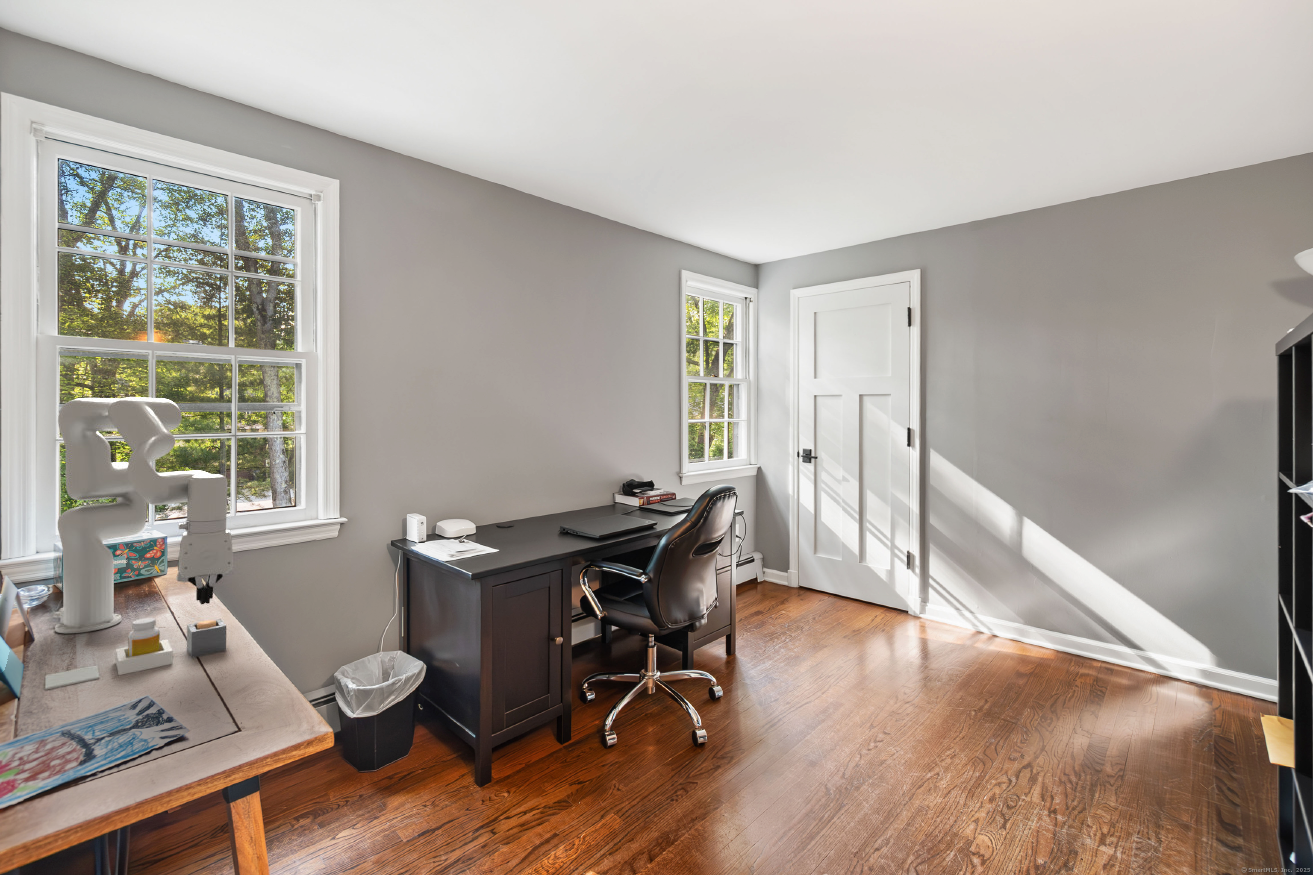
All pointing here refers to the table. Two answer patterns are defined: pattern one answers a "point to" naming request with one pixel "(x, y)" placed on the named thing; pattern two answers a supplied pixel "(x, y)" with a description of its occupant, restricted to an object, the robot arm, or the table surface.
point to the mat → (71, 677)
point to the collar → (143, 659)
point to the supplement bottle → (143, 637)
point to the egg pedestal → (206, 639)
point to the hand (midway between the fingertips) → (204, 602)
